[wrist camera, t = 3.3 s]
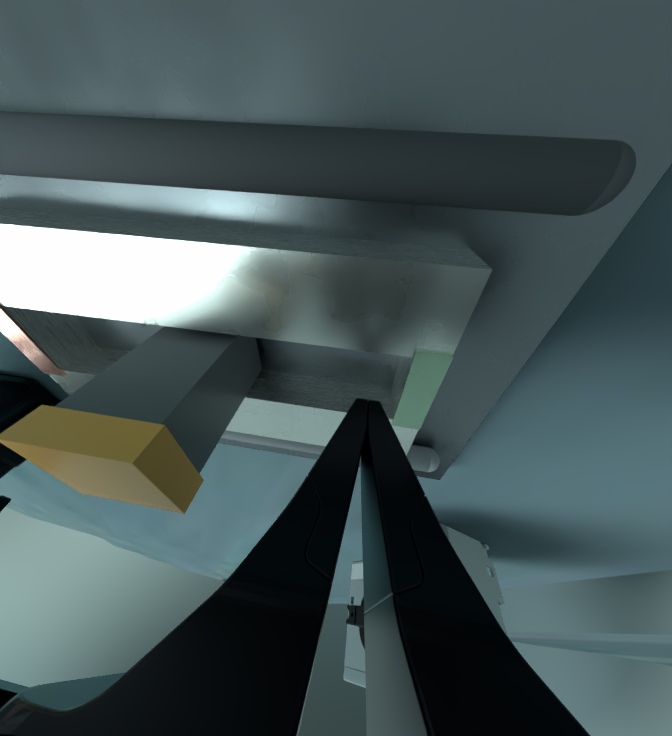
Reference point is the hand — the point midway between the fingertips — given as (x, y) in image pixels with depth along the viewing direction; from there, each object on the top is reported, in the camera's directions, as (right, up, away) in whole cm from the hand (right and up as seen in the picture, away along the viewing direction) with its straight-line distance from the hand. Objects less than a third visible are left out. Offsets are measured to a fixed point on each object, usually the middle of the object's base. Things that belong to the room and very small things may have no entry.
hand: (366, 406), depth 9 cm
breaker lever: (-6, +3, +3) cm, 7 cm away
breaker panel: (-6, +3, +3) cm, 8 cm away
